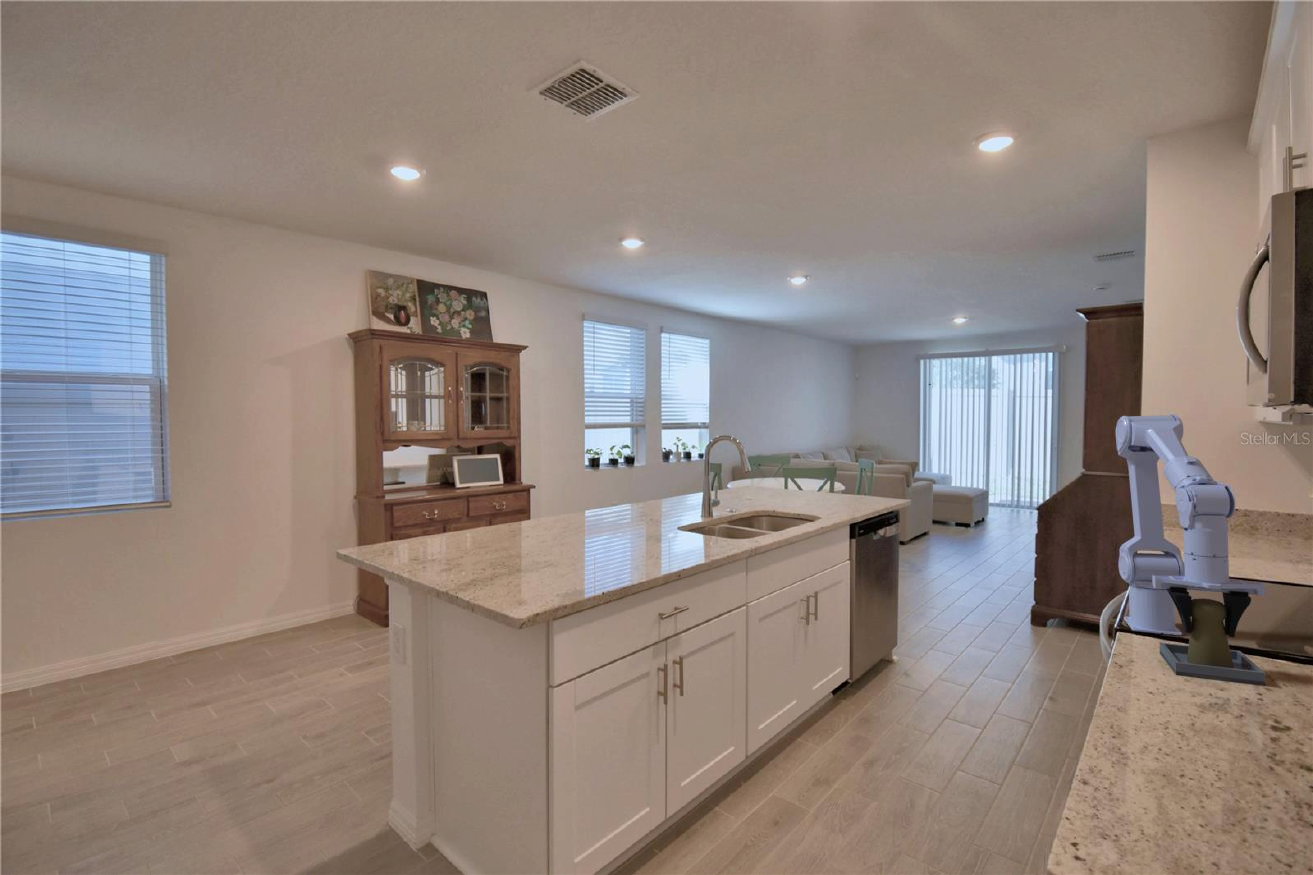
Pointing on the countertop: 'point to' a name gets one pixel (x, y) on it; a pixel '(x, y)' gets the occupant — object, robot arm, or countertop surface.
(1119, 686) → the countertop surface
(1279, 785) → the countertop surface
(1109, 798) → the countertop surface
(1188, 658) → the cork
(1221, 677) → the tray
